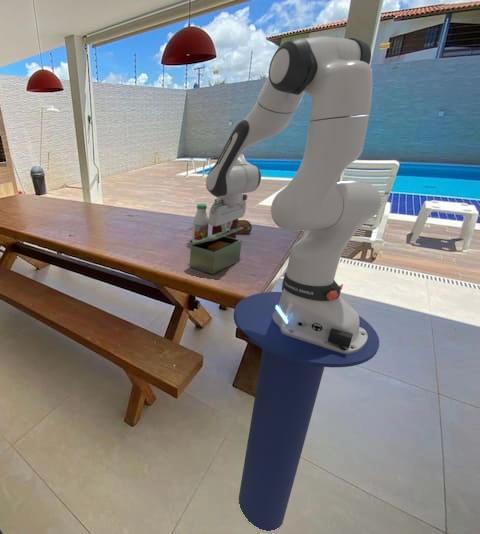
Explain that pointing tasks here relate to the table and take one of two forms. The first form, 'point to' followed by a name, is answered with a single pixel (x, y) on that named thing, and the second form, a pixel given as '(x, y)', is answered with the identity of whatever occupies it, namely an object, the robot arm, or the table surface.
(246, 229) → the brown rounded piece
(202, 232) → the milk bottle
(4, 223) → the table surface
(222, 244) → the toy van
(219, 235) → the lid
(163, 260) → the table surface
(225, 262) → the green hinged box
